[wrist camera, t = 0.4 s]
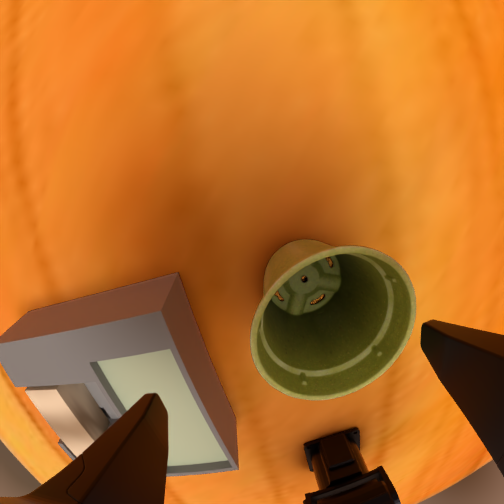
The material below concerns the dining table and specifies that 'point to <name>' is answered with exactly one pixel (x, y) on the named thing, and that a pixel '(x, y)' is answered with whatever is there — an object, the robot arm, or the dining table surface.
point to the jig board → (132, 365)
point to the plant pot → (330, 319)
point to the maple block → (70, 413)
